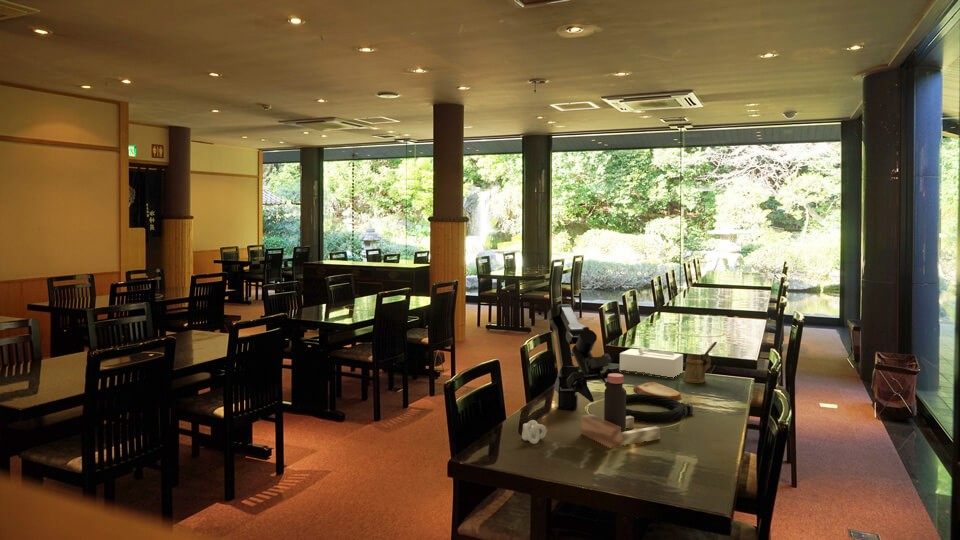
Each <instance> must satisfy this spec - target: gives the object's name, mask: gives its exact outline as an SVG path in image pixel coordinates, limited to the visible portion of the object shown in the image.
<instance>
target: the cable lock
mask: <svg viewBox="0 0 960 540" xmlns="http://www.w3.org/2000/svg"><path fill="white" fill-rule="evenodd" d="M626 403H631V404H648V403H651V404H650V405H658V404H659V405H658V406H662V405H663V406H662V407H667V408H669V407H670V408H669V409H671V408H672V409H671V410H665V411H642V410H637V409H636V410H635V409H628V408H626V416H632V417H634V421H635V420H638V421H637V422H641V421H645V422H644V423H663V422H664V421H668V422H672V421H671V420H673V421H676V420H679V419H681V418H683V417H686V416H690V415H691V416H692V415H693V413H694V407H693V404H690V403H684V402H680V401H679V400H674V399H672V398H668V397H664V396H657V395H647V394H638V393H631V394H627V393H626Z"/></svg>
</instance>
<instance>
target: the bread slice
mask: <svg viewBox="0 0 960 540" xmlns="http://www.w3.org/2000/svg"><path fill="white" fill-rule="evenodd" d="M633 391H634V392H635V393H636V392H637V393H636V394H638V393H639V394H647V395H657V396H664V397H668V398H672V399H674V400H676V401H681V400H682V399H683V398H682V395H681V393H680V392H679V391H678V390H675V389H674V388H672V387H669V386H666V385H663V384H660V383H657V382H655V381H651V382H650V381H649V382H645V383H641V384H640V385H638V384H636V385H634V387H633Z"/></svg>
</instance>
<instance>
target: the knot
mask: <svg viewBox="0 0 960 540" xmlns="http://www.w3.org/2000/svg"><path fill="white" fill-rule="evenodd" d="M531 426H532V427H531ZM540 430H541V433H540ZM546 436H547V427H546V426H545V425H543V424H541V423H538V422H537V421H536V419H535V420H534V419H531V420H529V421H528V422H525V423H523V424H522V431H521V438H522V440H523V441H528V442H529V443H530V444H533V445H536V444H537V443H538V442H539V441H540V440H541V439H544V438H545V437H546Z"/></svg>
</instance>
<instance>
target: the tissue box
mask: <svg viewBox="0 0 960 540" xmlns="http://www.w3.org/2000/svg"><path fill="white" fill-rule="evenodd" d="M683 367H684V354H683V353H677V352H674V351H663V350H650V348H646V347H643V348H640V349H637V348H629V349H627V350H625V351H622V352H620V353H619V370H626V371H637V372H645V373H650V374H655V375H661V376H667V377H673V378H672V379H674V377H675V376H676V377H678V376H679V375H680V373H681V374H682V373H683V372H684V371H683V369H684V368H683ZM677 375H678V376H677ZM667 377H666V378H667ZM676 377H675V378H676Z"/></svg>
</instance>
